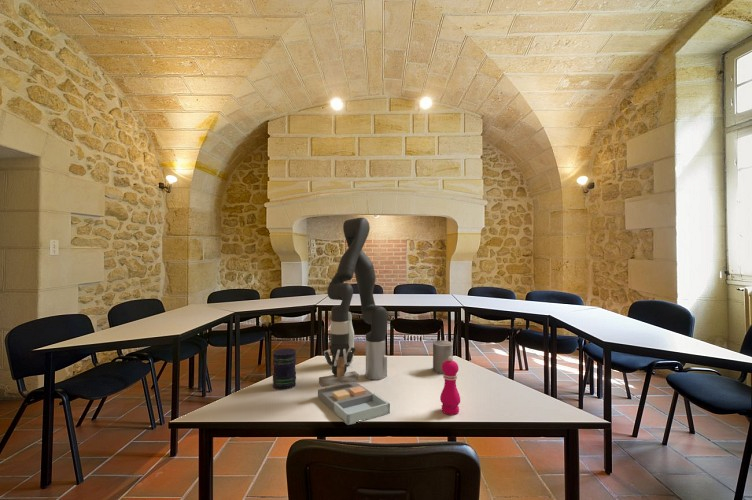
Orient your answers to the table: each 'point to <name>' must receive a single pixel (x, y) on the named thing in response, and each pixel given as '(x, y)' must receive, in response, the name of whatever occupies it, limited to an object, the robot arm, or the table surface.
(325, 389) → the board
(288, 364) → the storage jar
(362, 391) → the tile
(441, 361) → the pillar candle
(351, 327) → the grey bottle
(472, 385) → the table surface
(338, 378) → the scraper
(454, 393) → the pepper mill
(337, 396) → the tile
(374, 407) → the tray
